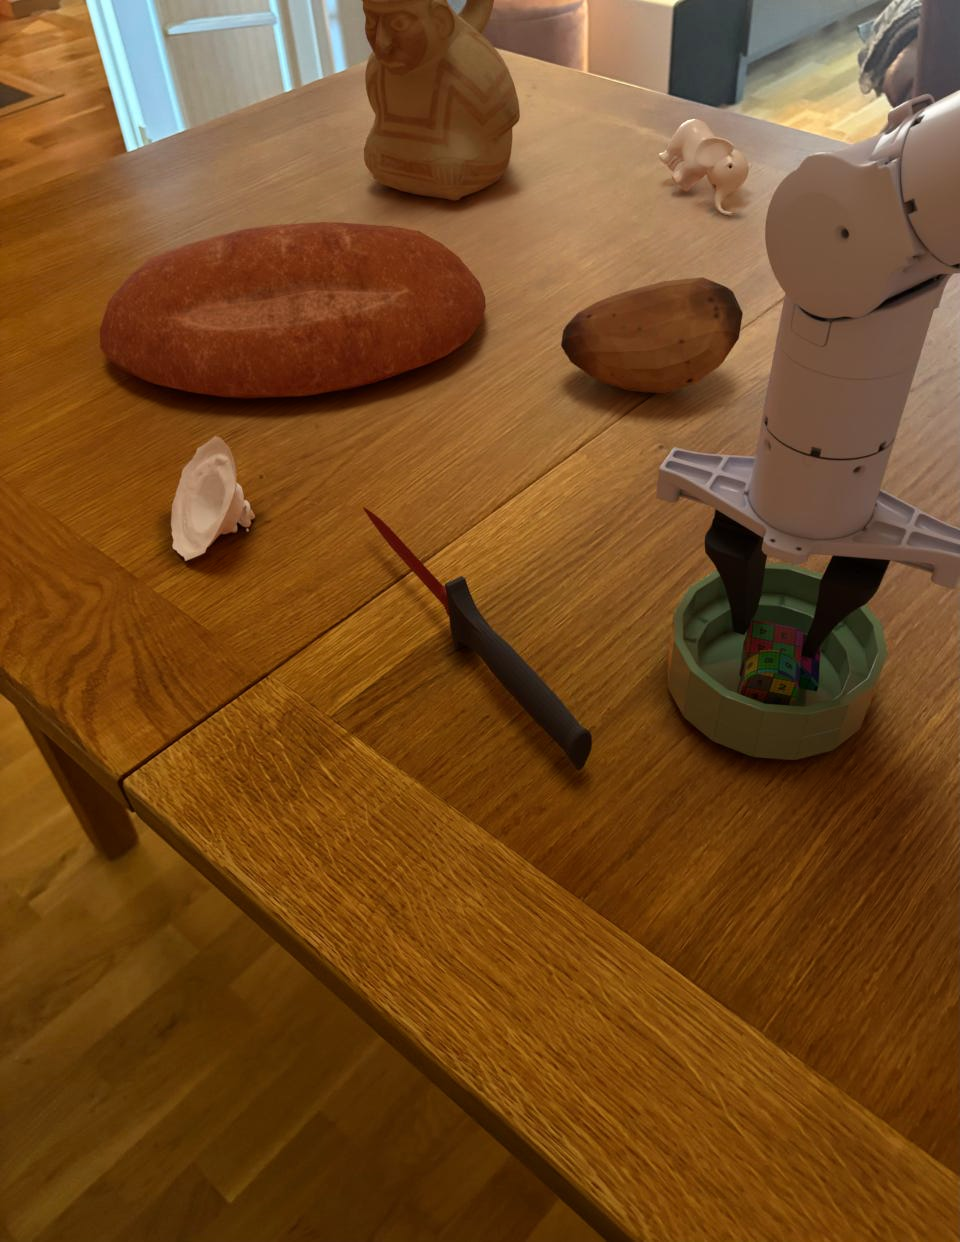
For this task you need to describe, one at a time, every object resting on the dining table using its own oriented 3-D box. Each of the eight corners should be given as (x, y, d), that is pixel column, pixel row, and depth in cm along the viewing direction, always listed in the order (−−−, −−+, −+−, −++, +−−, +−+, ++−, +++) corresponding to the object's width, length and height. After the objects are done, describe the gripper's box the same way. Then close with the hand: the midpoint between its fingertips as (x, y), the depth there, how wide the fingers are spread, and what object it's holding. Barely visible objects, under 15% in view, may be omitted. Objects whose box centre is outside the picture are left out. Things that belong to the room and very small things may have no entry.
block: (814, 725, 53) (831, 684, 50) (734, 708, 54) (747, 667, 51) (819, 640, 57) (836, 598, 54) (745, 626, 58) (758, 584, 55)
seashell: (246, 577, 72) (275, 544, 65) (168, 573, 70) (190, 539, 63) (245, 469, 74) (273, 426, 66) (169, 461, 71) (189, 416, 64)
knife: (592, 771, 55) (596, 712, 51) (570, 784, 54) (572, 725, 50) (376, 531, 69) (367, 472, 65) (357, 540, 68) (347, 480, 65)
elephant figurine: (694, 219, 97) (750, 169, 94) (638, 132, 101) (689, 82, 98) (725, 247, 103) (779, 201, 100) (671, 164, 107) (720, 118, 104)
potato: (580, 428, 81) (563, 335, 83) (752, 388, 79) (731, 293, 80) (566, 395, 74) (548, 293, 75) (756, 349, 71) (733, 245, 73)
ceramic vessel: (327, 197, 106) (284, -93, 88) (433, 130, 117) (413, -140, 99) (467, 231, 99) (451, -75, 81) (564, 156, 110) (569, -127, 92)
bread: (506, 389, 80) (503, 283, 74) (91, 437, 78) (51, 332, 71) (468, 255, 96) (463, 158, 89) (121, 292, 93) (91, 195, 87)
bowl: (889, 656, 59) (909, 600, 56) (833, 797, 53) (852, 743, 50) (708, 594, 63) (717, 540, 60) (635, 718, 57) (641, 665, 54)
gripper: (639, 426, 45) (622, 635, 55) (983, 522, 40) (896, 736, 50) (698, 348, 50) (672, 556, 59) (1017, 427, 44) (931, 641, 54)
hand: (777, 632), depth 55 cm, fingers closed on block, 3 cm apart
